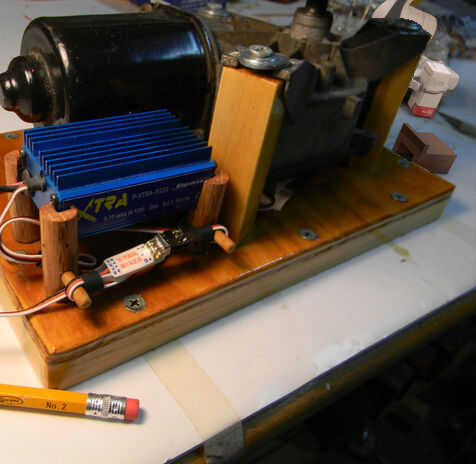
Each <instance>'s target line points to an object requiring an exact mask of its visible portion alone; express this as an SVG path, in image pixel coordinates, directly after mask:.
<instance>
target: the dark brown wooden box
mask: <svg viewBox="0 0 476 464" xmlns="http://www.w3.org/2000/svg"><path fill="white" fill-rule="evenodd" d="M392 151H393V152H394V153H395V154H407V155H413V157H412V158H411V160H410V162H413V163H415V164H417V165H419V166H421V167H423V168H425V169H427V170H428V171H430V172H432V173H431V174H447V175H448V174H449V172H450V171H451V168H452V167H453V165H454V162H455V161H456V159H457V157H458V154H457V153H456V152H455V151H453V149H451V147H449V146H448V144H446V143H445V142H444V141H443V140H442V139H440V137H439V136H438V135H436V134H435V133H434V132H425V131H417V130H416V129H415V128H414V127H413V126H412V125H410V123H408V122H403V123H402V126H401V128H400V130H399V132H398V134H397V136H396V140H395V141H394V144H393V146H392Z"/></svg>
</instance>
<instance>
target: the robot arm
mask: <svg viewBox="0 0 476 464" xmlns="http://www.w3.org/2000/svg"><path fill="white" fill-rule="evenodd" d="M413 1H414V0H383V1H382V2H381V3H379V5H378V6H377V7H376V8H375V10H374V11H373V13H372V14H371V17H370V19H371V18H385V19H387V18H404V19H409V20H413V21H415V22H417V23H418V24H420V25H421V26H422V28H423V29H424V30H426V31H427V32H429V33H430V34H431V35H432V37H431V40H430V42H429V43H428V46H427V49H426V51H427V50H429V48H430V47H431V45H432V44H433V42H434V41H435V39H436V37H437V34H438V28H439V27H438V26H439V25H438V20H437V18H436V17H435V16H434V15H431V14H430V13H428V12H425V11H423V10H422V9H421V10H420V9H418V8H416V7H413V6H411V5H410V4H411V3H412V2H413ZM426 61H430V62H434V63H439V64H444V61H442V60H441V59H438V58H434V57H430V56H425V55H424V54H422V57H421V60H420V62H419V64H418V67H417V69H416V71H415V73H414V76H413V78H412V81H411V83H410V86H409V87H408V88H410V89H412V90H415V91H421V90H422V88H423V84H422V83H421V82H417V81H418V79H419V77H420V76H421V74H420V73H421V71H422V69H423V66H424V64H425V62H426ZM445 67H446V68H447V69H448V70H449V72H450V73H451V74H452V76H451V78H450V80H449V82H448V84H447V86H446V88H445V91H444V93H447V92H448V91H449V90H450V91H452V90H454V89H455V88H456V87H457V85H458V83H459V80H460V76H459V74H458V73H457V72H456V71H454V70H452V68H450V67H449V66H446V65H445Z"/></svg>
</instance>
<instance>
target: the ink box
mask: <svg viewBox="0 0 476 464" xmlns="http://www.w3.org/2000/svg"><path fill="white" fill-rule="evenodd" d="M445 66H446V64H444V63H443V64H439V63H434V62H430V61H426V62H425V64H424V66H423V69H422V71H421V73H420V74H421V76H420V77H419V79H418V81H417V82H421V83H422V84H423V88H422V90H421V91H415V90H414V89H412V92H411V94H410V97H409V99H408V102H407V105H408V107H409V109H410V111H411V113H412V114H413V116H419V117H423V118H430V119H432V118H433V116H434V115H435V112H436V110H437V108H438V106H439V103H440V102H441V99H442V97H443V95H444V93H445V92H444V91H445V88H446V86H447V84H448V82H449V80H450V78H451V76H452V74H451V73H450V72H449V70H448V69H447V68H446V67H445Z"/></svg>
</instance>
